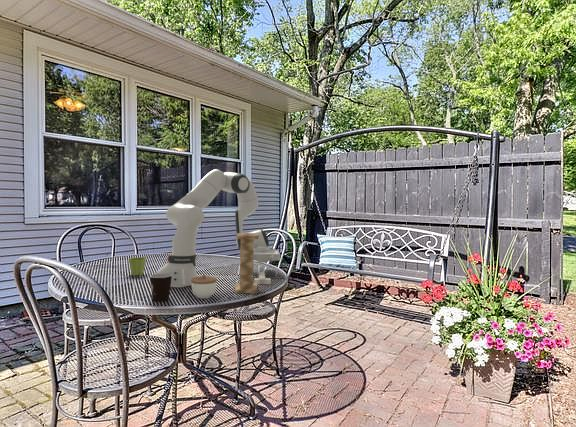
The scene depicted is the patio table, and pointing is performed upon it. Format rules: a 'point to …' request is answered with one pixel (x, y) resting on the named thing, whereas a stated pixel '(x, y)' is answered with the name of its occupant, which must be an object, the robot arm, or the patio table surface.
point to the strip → (262, 279)
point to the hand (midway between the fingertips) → (262, 258)
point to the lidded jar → (203, 286)
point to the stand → (246, 263)
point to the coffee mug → (160, 286)
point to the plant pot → (137, 266)
